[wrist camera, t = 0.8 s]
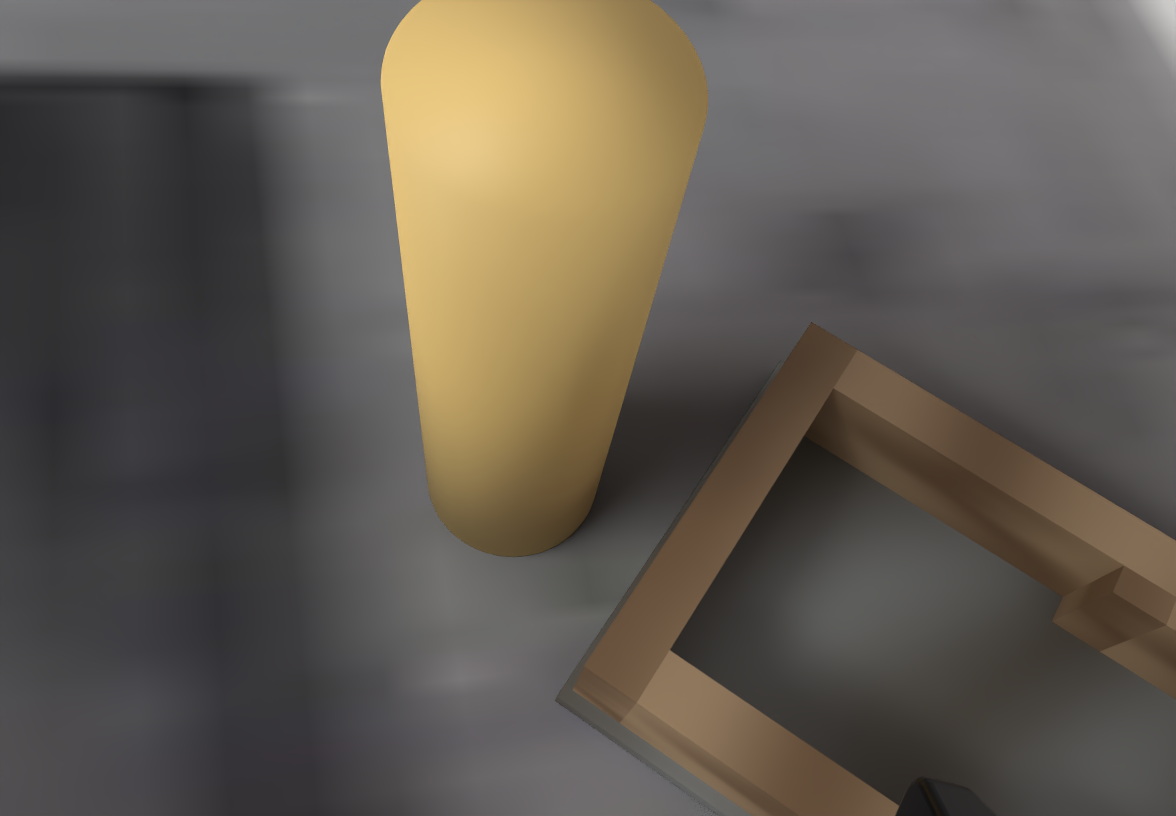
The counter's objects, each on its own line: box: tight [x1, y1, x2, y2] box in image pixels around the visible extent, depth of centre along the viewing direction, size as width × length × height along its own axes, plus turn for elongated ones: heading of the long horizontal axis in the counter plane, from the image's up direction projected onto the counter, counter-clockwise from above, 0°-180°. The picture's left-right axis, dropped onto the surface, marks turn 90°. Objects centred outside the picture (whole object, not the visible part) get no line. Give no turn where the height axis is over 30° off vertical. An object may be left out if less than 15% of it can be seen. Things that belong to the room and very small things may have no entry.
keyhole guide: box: [555, 322, 1176, 816], centre depth 21 cm, size 16×10×3 cm, turn 56°
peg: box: [381, 0, 708, 557], centre depth 18 cm, size 4×4×13 cm
